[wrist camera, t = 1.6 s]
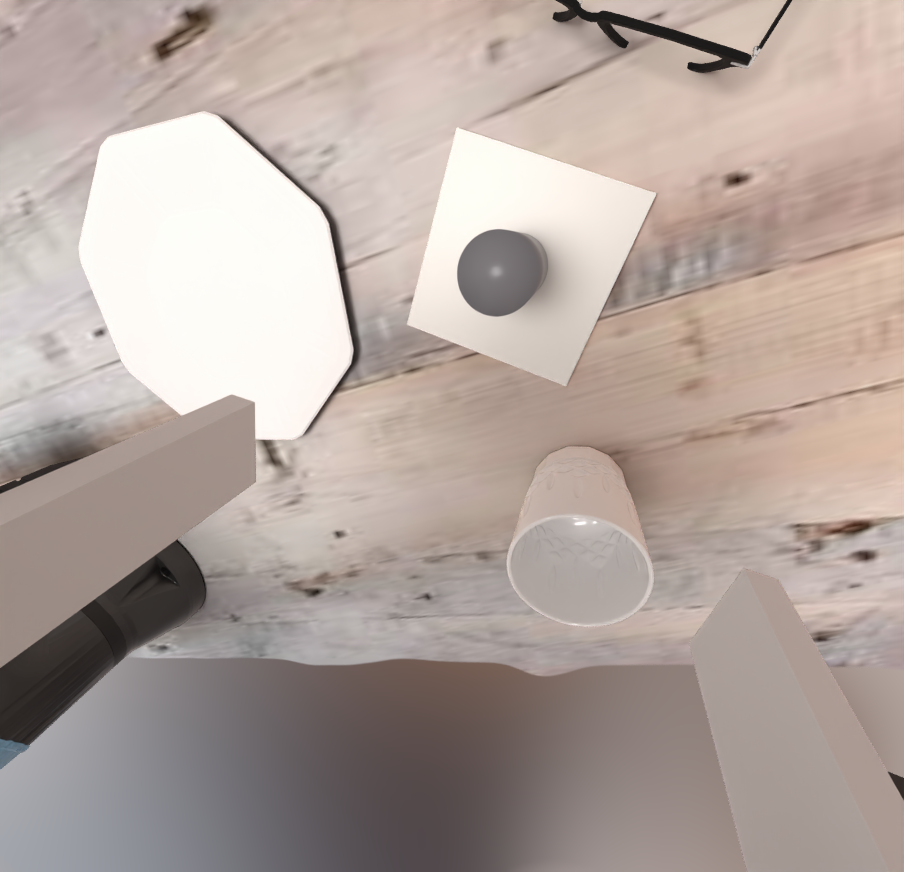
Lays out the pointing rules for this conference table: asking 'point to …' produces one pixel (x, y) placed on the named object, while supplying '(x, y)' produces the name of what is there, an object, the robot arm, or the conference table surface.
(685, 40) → the eyeglasses
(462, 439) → the conference table surface
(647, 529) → the conference table surface
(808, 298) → the conference table surface
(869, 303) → the conference table surface
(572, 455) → the white cup
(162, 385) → the plate
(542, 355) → the lid
